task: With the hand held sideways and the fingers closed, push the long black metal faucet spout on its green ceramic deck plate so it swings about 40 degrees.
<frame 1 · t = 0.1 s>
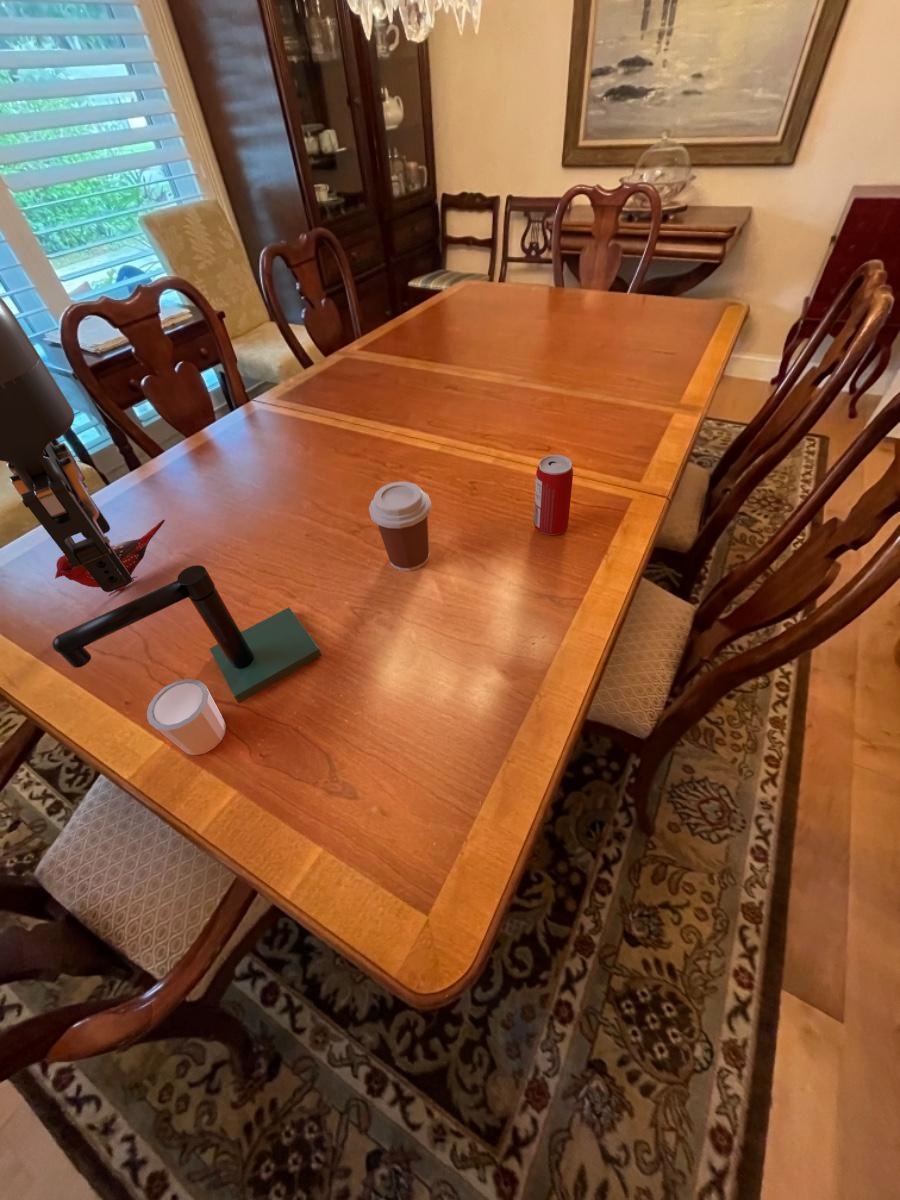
hand: (108, 558, 45), 28 cm above the table, tool pointing down, fingers open, 8 cm apart
coffee cup: (409, 558, 85), on the table
decorative bird figurine: (137, 580, 87), on the table
spout: (140, 615, 59), point 15 cm above the table, hinge at 0.0°
soda can: (550, 526, 88), on the table
shot glass: (203, 734, 66), on the table
faucet: (246, 666, 72), on the table
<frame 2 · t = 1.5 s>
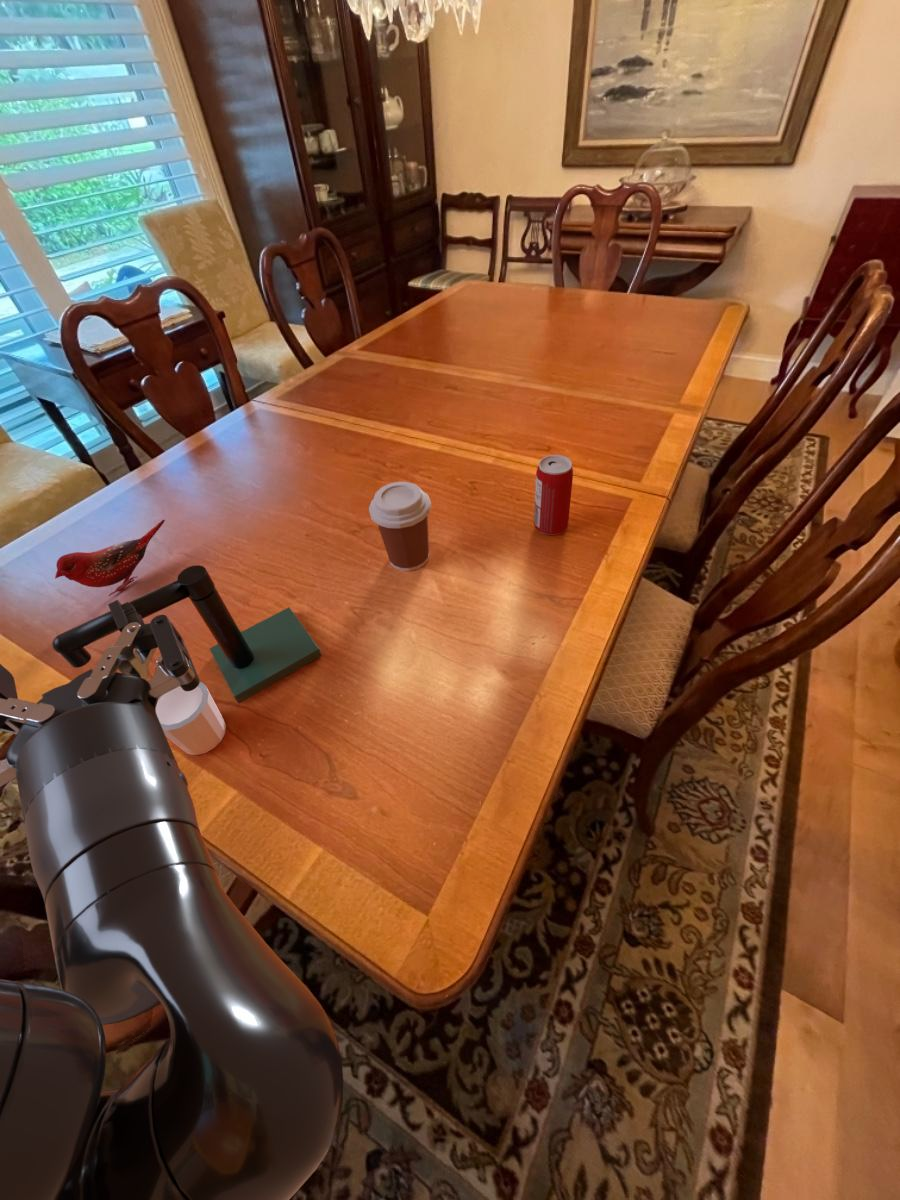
hand: (60, 638, 40), 28 cm above the table, tool horizontal, fingers open, 8 cm apart
nothing on the table moved.
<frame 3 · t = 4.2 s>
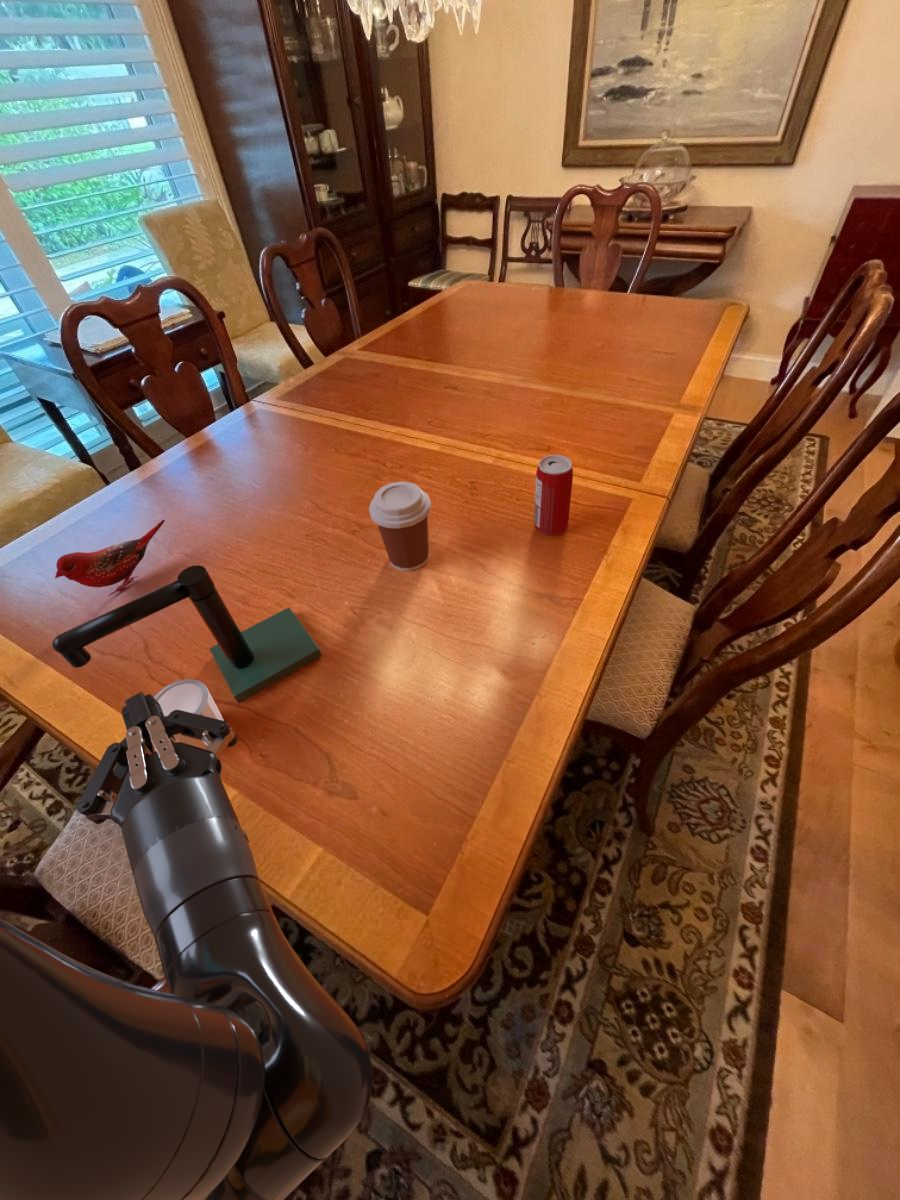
hand: (138, 700, 50), 16 cm above the table, tool horizontal, fingers closed
nothing on the table moved.
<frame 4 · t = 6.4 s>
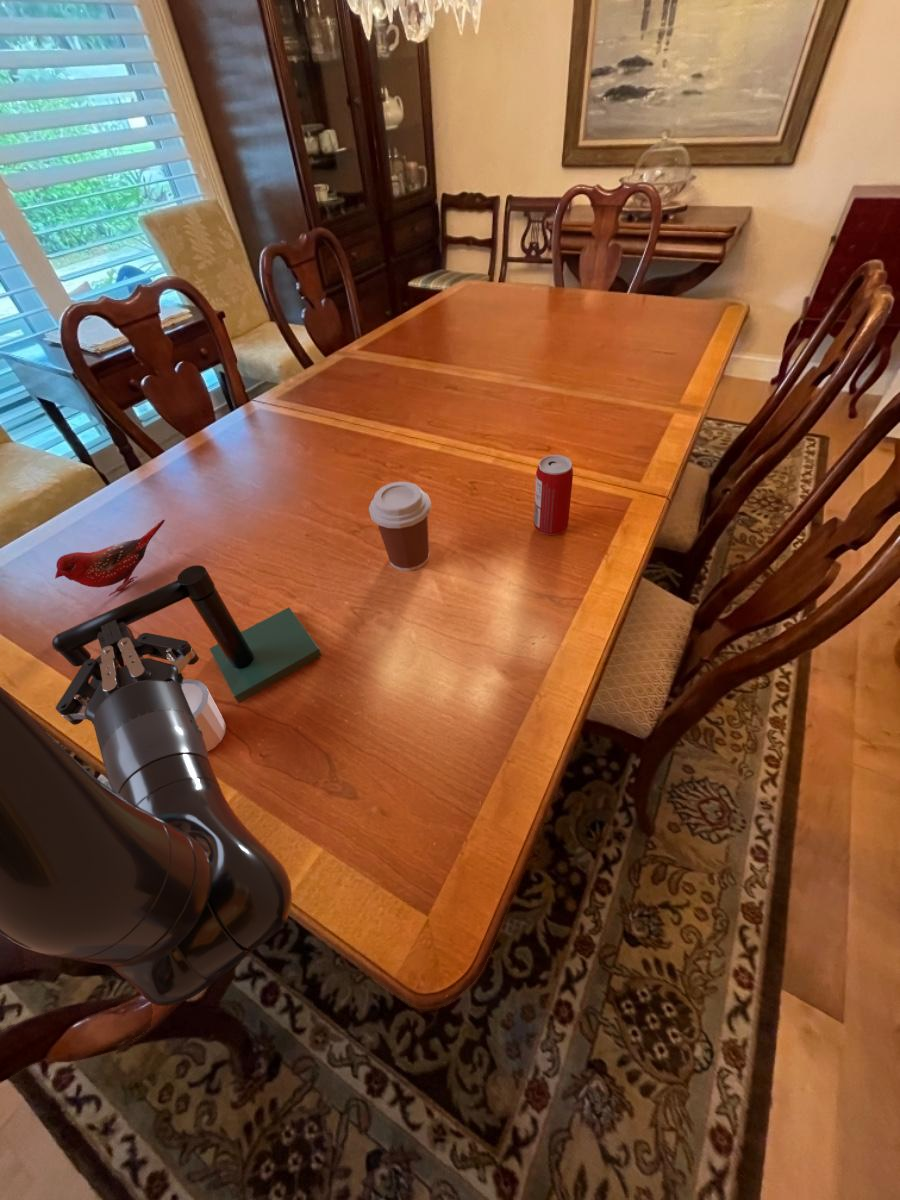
hand: (112, 628, 57), 16 cm above the table, tool horizontal, fingers closed
spout: (140, 615, 59), point 15 cm above the table, hinge at 0.8°, touching gripper
everything else where it was.
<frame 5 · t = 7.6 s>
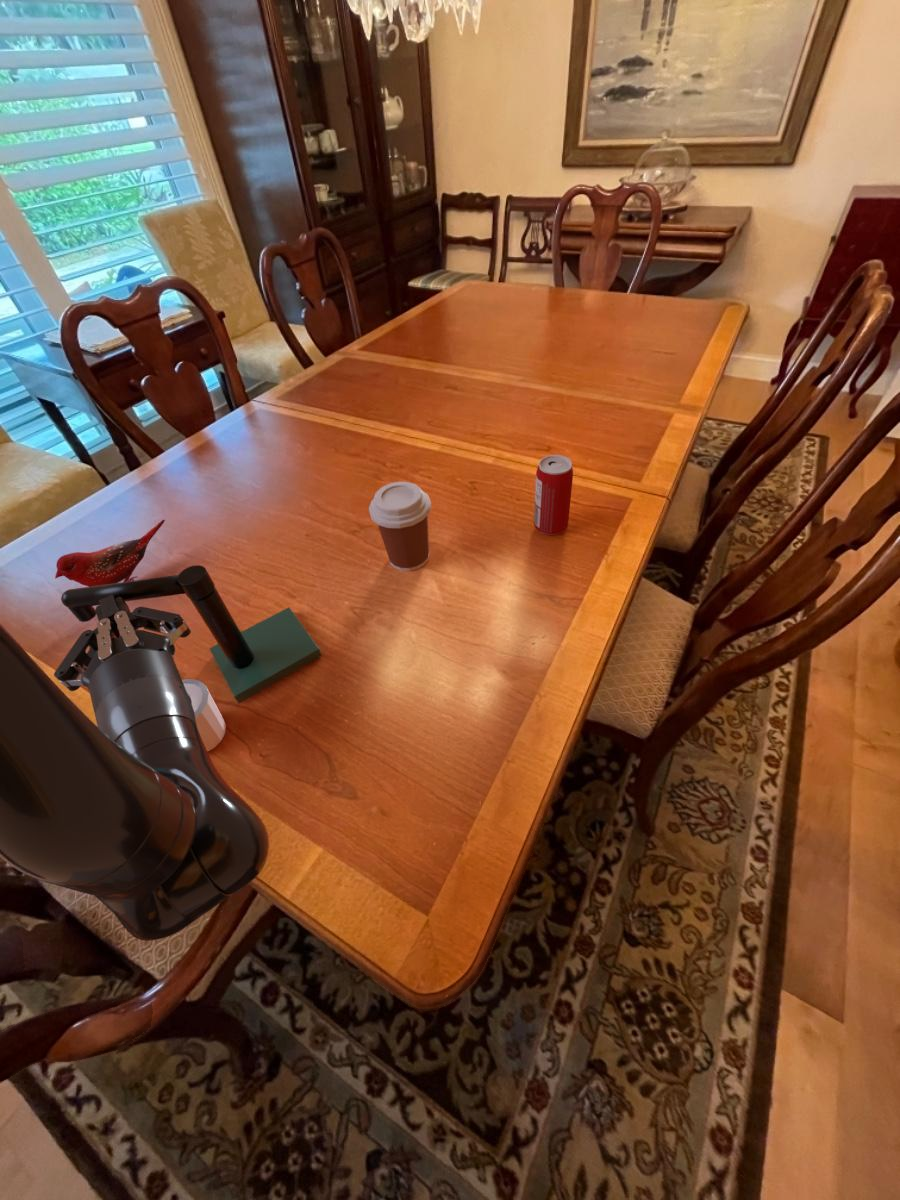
hand: (110, 602, 60), 16 cm above the table, tool horizontal, fingers closed
spout: (141, 595, 61), point 15 cm above the table, hinge at 29.7°, touching gripper
everything else where it was.
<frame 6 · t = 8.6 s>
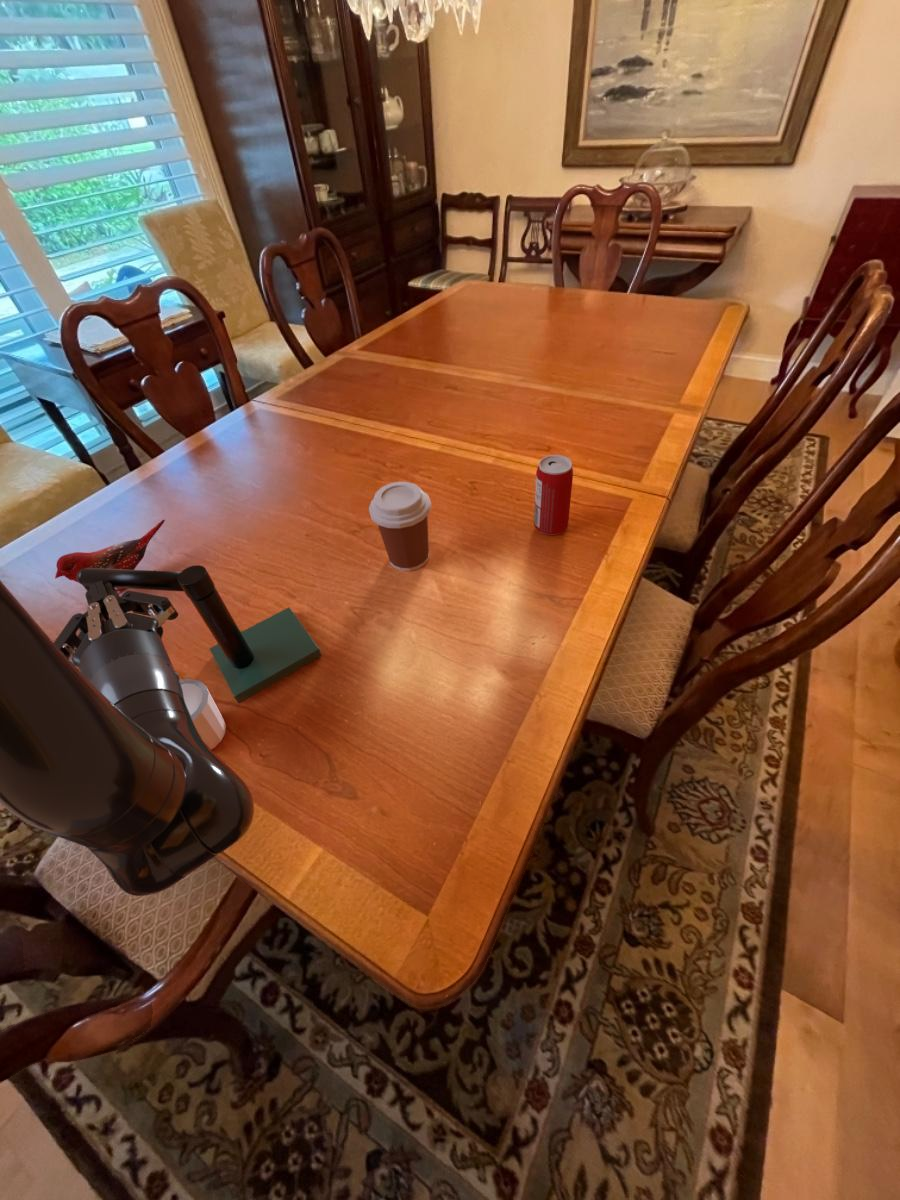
hand: (99, 588, 62), 16 cm above the table, tool horizontal, fingers closed
spout: (147, 585, 62), point 15 cm above the table, hinge at 44.0°, touching gripper
everything else where it was.
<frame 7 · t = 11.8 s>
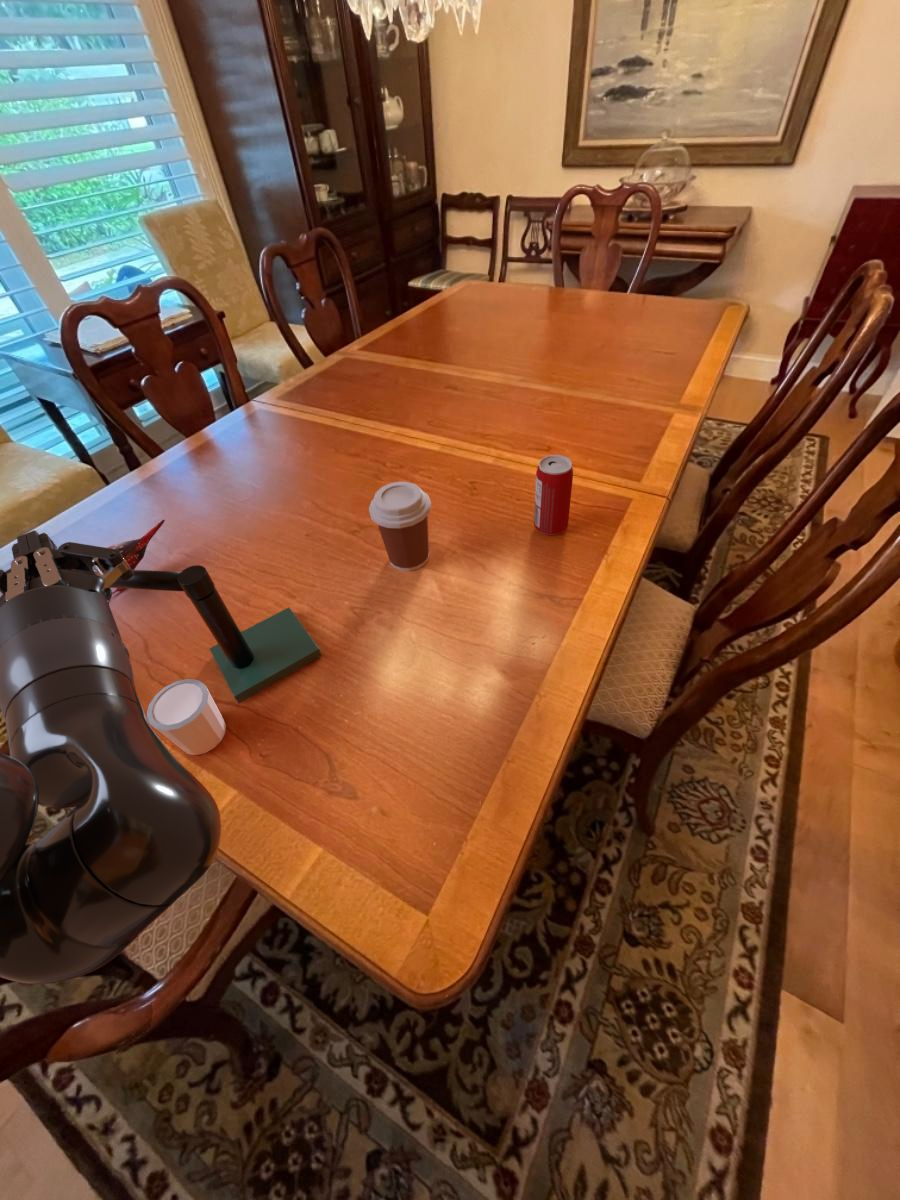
hand: (32, 541, 47), 29 cm above the table, tool horizontal, fingers closed
spout: (147, 585, 62), point 15 cm above the table, hinge at 44.0°
everything else where it was.
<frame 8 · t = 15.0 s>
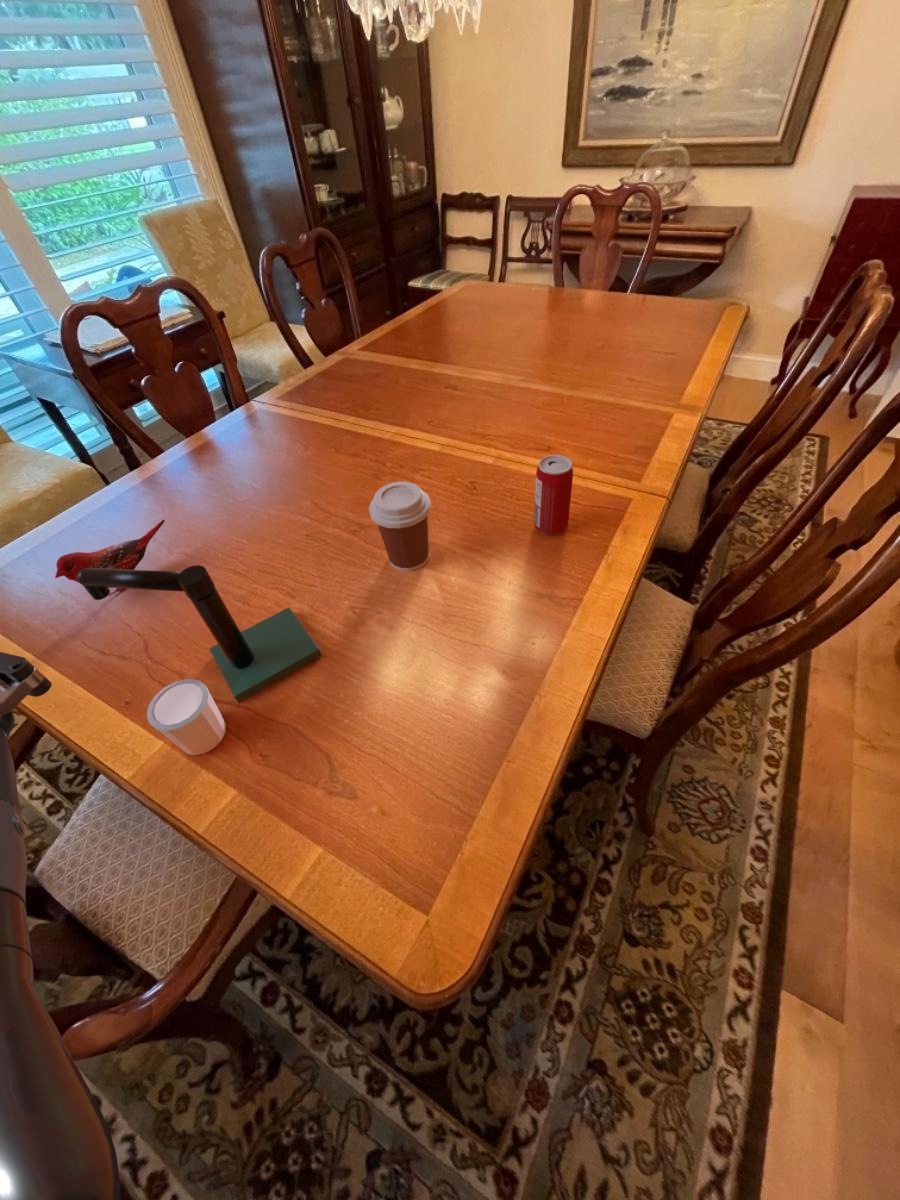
nothing on the table moved.
at the end: spout at +44° (first picture: +0°); shot glass moved 0.2 cm from its start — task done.
